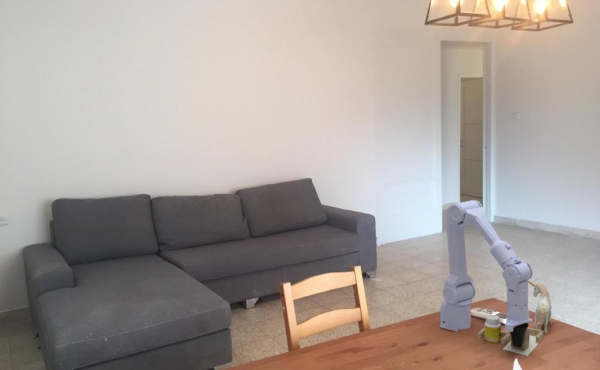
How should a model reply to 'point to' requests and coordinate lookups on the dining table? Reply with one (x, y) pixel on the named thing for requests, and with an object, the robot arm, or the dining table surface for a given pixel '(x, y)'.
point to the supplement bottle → (492, 329)
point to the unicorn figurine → (542, 307)
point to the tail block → (524, 341)
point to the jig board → (533, 342)
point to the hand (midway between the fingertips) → (517, 346)
